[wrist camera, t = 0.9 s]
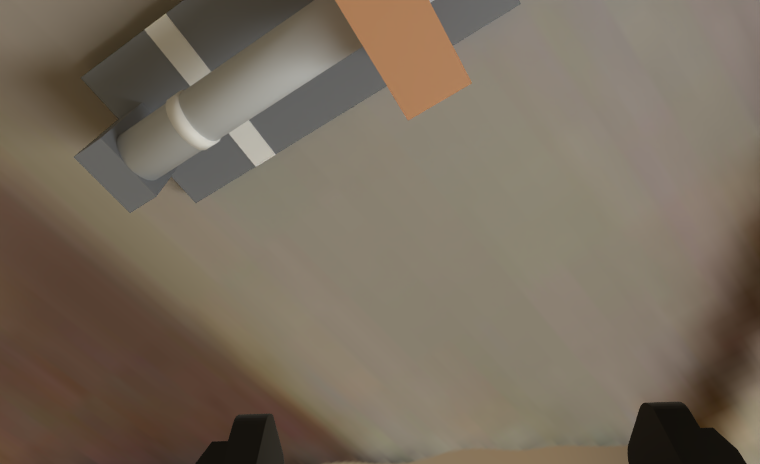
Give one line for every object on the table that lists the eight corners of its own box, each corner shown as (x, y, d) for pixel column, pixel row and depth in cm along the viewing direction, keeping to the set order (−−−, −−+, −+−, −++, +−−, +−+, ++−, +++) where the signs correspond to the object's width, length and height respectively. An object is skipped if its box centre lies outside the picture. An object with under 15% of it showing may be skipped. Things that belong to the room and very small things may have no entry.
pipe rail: (433, -187, 26) (454, -217, 20) (515, 0, 30) (552, 23, 24) (89, 72, 32) (24, 110, 26) (200, 195, 36) (167, 251, 30)
